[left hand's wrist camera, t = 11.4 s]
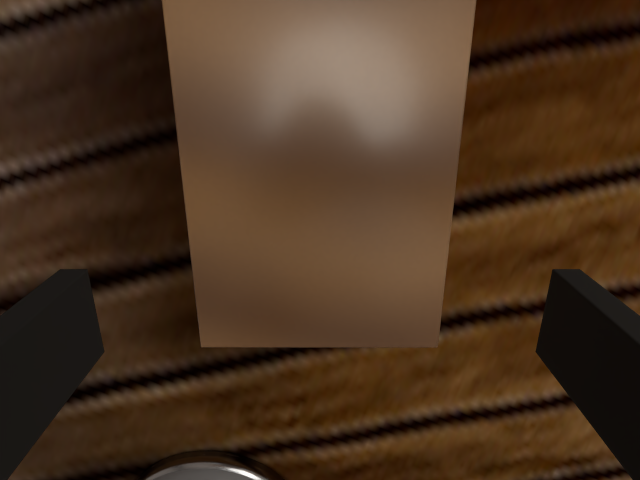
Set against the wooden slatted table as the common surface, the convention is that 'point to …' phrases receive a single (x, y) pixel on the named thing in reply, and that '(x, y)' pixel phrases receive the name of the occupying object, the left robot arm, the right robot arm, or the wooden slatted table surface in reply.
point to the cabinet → (319, 165)
